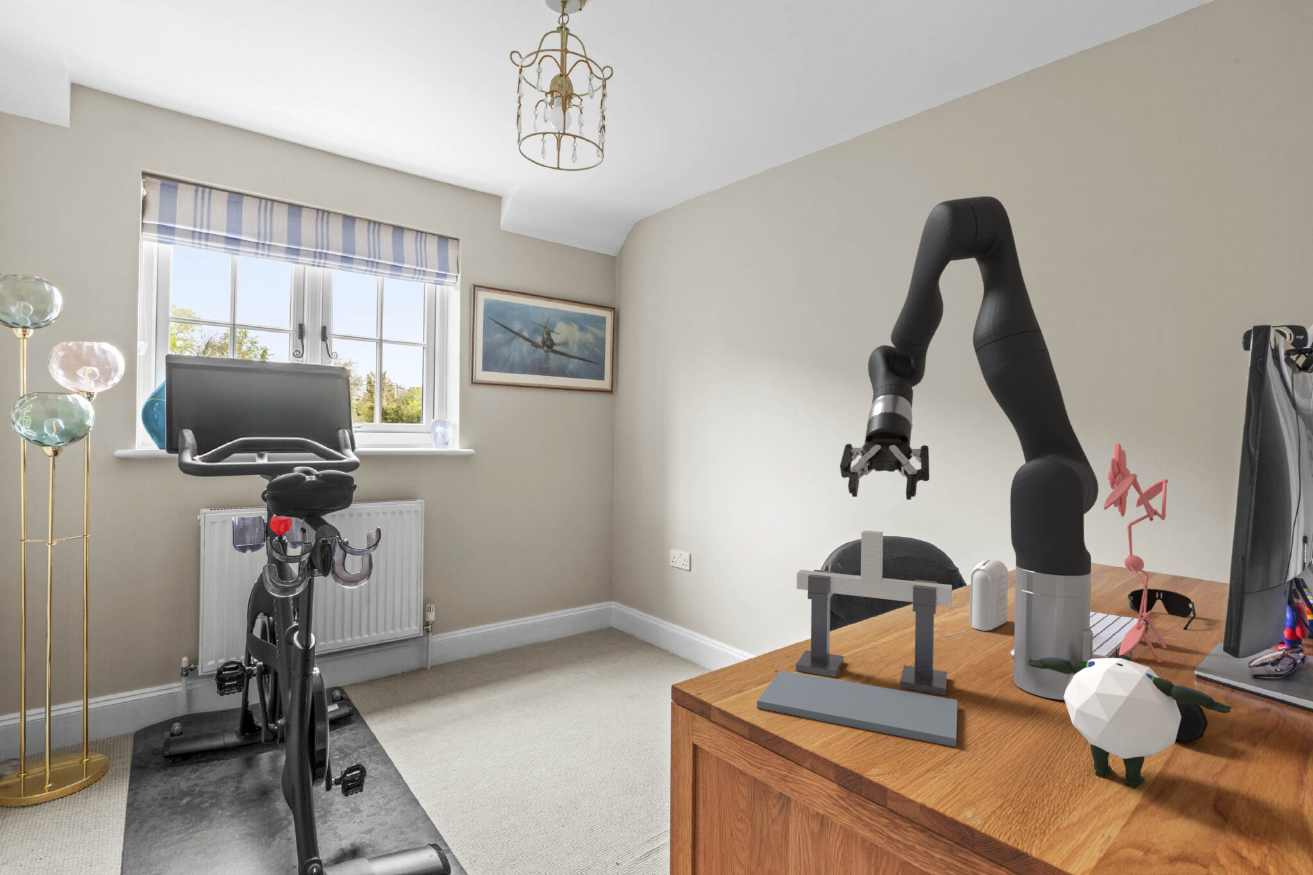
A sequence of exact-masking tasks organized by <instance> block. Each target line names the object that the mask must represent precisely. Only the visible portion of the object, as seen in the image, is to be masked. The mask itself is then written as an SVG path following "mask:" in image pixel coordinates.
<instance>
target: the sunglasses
mask: <svg viewBox="0 0 1313 875" xmlns="http://www.w3.org/2000/svg"><path fill="white" fill-rule="evenodd" d="M1143 591H1144V588H1138V589H1134V590H1132V591H1131V592H1129V594H1127V601H1128V605H1129V608H1130V609H1131V610H1133V611H1135V612H1136V613H1137V614H1138V615H1139V612H1140V607H1141V602H1142V597H1143ZM1157 601H1161V603H1162V605H1163V607H1164V609H1165V611H1166V613H1167V614H1168V615H1170V616H1175V617H1180V618H1187V617H1189V616H1190V615H1191V614H1192V615H1193V616H1192V617H1191V618H1190V619H1189V620H1188V621H1187V622H1186V624H1185V625H1184V627H1183V628H1182V630H1184V631H1186V630H1187V631H1188V627H1189V626H1190V625H1191V623H1192V622H1193V620H1194V619H1196V616H1197V613H1196V609H1195V608H1196V607H1195V602H1194V601H1192V599H1190V597H1188V596H1186V595H1183V594H1181V593H1179V592H1175V591H1171V590H1167V589H1157V588H1148V589H1147V604H1146V612H1147V613H1148V612H1149V611H1151V612H1152V610H1153V608H1154V606H1155V604H1156V603H1157ZM1142 613H1144V606H1143V611H1142ZM1142 617H1143V616H1141V618H1142ZM1144 621H1145V622H1146V624H1147V626H1148V625H1149V623H1148V621H1147V619H1145V620H1144ZM1144 621H1143V622H1144ZM1146 624H1145V625H1146Z"/></svg>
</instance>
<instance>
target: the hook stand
mask: <svg viewBox="0 0 1313 875" xmlns="http://www.w3.org/2000/svg"><path fill="white" fill-rule="evenodd" d="M813 571H817V572H827V573H835V571H833V570H832V571H831V570H823V569H814V570H813ZM914 581H916V582H926V583H936V584H938V581H932V580H921V579H915V580H914ZM834 594H835V593H829V577H825V576H815V575H809V576H808V590H807V599H808V600H811V604H810V605H811V608H810V611H811V612H810V620H811V621H810V650H808V649H807V650H804V651H803V654H802V655H801V656H800V657H799V659H798V660H797V662H796V663H795V672H802V673H806V674H807V673H808V674H812V675H813V674H814V675H819V676H823V677H830V678H836V677H837V676H838V674H839V672H840V670H841V668H842V666H843V664H844V663H845V662H844V660H845V657H844V655H840V654H833V653H830V642H831V640H830V639H831V636H830V635H831V634H830V632H831V629H830V628H831V626H830V625H831V598H832V596H833V595H834ZM937 607H938V605H936V588H932V587H922V586H913V602H912V612H914V613H915V619H914V620H915V622H914V623H915V628H914V629H915V630H914V632H915V635H914V666H912V665H907V664H906V665H905V664H904V665H903V668H902V671H901V672H902V673H901V676H900V680H899V688H900V689H902V690H909V691H915V692H922V693H928V694H932V695H940V696H946V695H947V682H948V671H945V670H938V669H934V657H935V656H934V653H935V652H934V651H935V650H934V648H935V615H936V612H937Z"/></svg>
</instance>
